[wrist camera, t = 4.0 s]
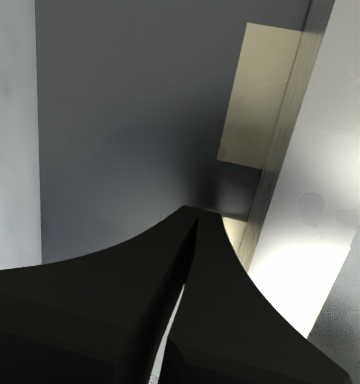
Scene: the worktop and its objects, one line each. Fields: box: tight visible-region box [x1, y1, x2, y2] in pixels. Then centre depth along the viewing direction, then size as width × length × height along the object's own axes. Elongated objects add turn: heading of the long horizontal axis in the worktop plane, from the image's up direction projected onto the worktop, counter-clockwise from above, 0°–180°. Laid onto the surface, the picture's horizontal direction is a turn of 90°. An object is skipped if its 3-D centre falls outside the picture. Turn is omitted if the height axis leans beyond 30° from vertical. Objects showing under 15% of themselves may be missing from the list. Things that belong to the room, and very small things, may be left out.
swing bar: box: [237, 0, 360, 338], centre depth 9 cm, size 2×16×3 cm, turn 171°
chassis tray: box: [35, 0, 360, 384], centre depth 10 cm, size 18×19×5 cm
